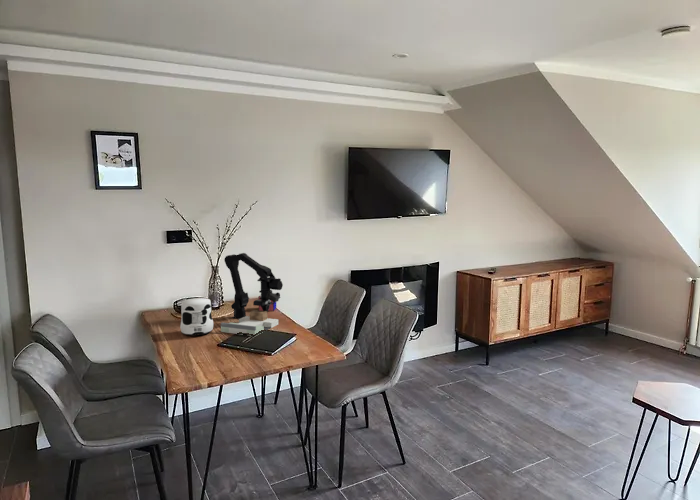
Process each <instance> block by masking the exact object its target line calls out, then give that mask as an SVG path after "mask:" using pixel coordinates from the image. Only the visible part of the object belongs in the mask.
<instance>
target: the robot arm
mask: <svg viewBox="0 0 700 500" xmlns="http://www.w3.org/2000/svg"><path fill="white" fill-rule="evenodd" d="M240 261H241V262H242V263H244V264H246V265H247V266H248V267H250V268H251V269H253V270H254V271H255V273H256V275H258V276H259V278H258V279H257V282H260V290H259V293H260V295H261V297H260V299H261V300H259V299H256V300H255V299H254V300H253V306H257V307H259V306H261V308H262V309H263V311H267V314H268V312H269V311H268V310H269V306H270V305H271V304H272V303H273V302H276V303H277V302H279V299H280V298H281V294H280V292H275V293H276V294H275V293H274V292H273V290H274V291H281V290H282V289H283V285H284V284H283V282H282V280H281V278H279V277H278V278H276V277H275V274H273V272H272V268H270V267H269V266H266V265H263V264H260V263H259V262H257V261H256V260H254V259H253V258H252V257H250V256H249V255H248V254H247V253H246V252H242V253H238V254H229V255H225V257H224V263H225V266H226V268H228V270H229V272H230V276H231V280H232V284H233V288H234V292H235V294H234V299H233V300H234V302H232V304H231V305H230V307H231V309H232V310H233V316H232V318H231V319H237V320H239V319H240V318H243V317H245V316H247V314H246V313H247V311H246V308H247V305H248V303H249V299H250V297H249V293H248V292H245V291H244V287H243V284H242V283H243V282H242V279H241V275H240V271H239V266H240V265H239V264H240ZM270 300H271V301H273V302H271V301H270Z"/></svg>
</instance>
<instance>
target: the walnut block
mask: <svg viewBox="0 0 700 500" xmlns="http://www.w3.org/2000/svg"><path fill="white" fill-rule="evenodd" d="M248 313H249V315H248V316H250V320H258V321H264V320H266V319H267V318H268V313H267V311H259V310H255V309H254V310H251V311H249V312H248Z"/></svg>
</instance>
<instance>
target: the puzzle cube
mask: <svg viewBox="0 0 700 500" xmlns="http://www.w3.org/2000/svg"><path fill="white" fill-rule="evenodd" d="M276 293H277V292H275V294H276ZM260 297H261V294H259V296H258V299H259V300H261V299H260ZM258 299H257V300H258ZM270 301H271V300H270ZM271 302H273V301H271ZM276 309H277V302H273V303H272V304H271V305H270V306H269V310H268V312H274V311H275V310H276ZM258 311H263V309H262V308H261V306H258Z"/></svg>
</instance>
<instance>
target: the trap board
mask: <svg viewBox="0 0 700 500" xmlns="http://www.w3.org/2000/svg"><path fill="white" fill-rule="evenodd" d="M276 326H279V319H277V318H268V317H267V319H266V320H264V321H258V320H250V316H249V315H246V316H245V317H243V318H240V319H238V322H221V323H220V332H221V333H227V334H235V335H238V334H237V333H239V332H242V333H249V334H256V333H258V332H259V331H261V330H264V329H265V330H266V331H268V330H270V329H272V328H274V327H276Z"/></svg>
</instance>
